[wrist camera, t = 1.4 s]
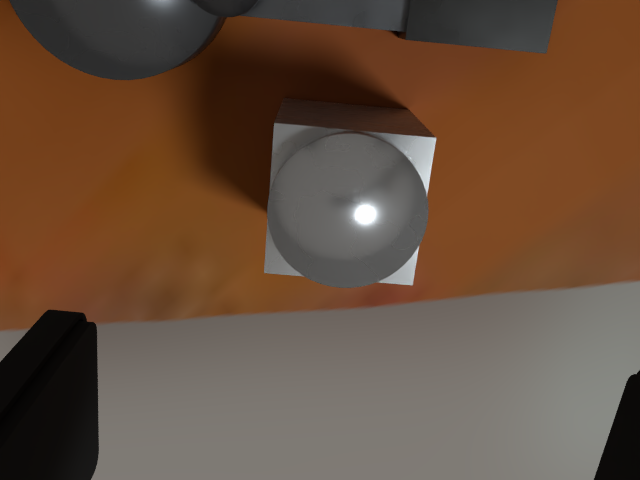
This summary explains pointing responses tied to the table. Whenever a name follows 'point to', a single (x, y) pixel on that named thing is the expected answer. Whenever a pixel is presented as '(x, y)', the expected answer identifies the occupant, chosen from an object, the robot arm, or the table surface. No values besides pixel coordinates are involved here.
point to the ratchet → (275, 3)
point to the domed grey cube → (347, 193)
